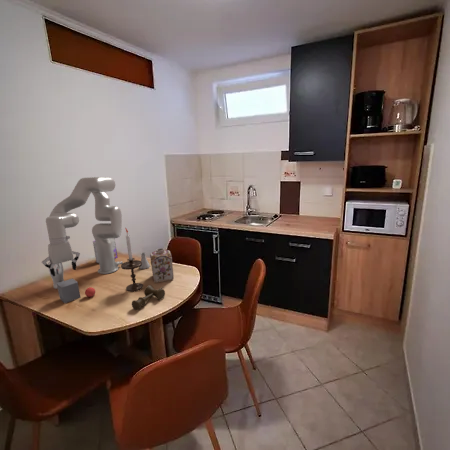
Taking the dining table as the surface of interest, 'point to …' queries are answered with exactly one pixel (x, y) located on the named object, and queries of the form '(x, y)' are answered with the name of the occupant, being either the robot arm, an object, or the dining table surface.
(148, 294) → the kendama
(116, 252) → the white carton
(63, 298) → the matte gray cube
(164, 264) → the decorative jar
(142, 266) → the flask
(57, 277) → the beer glass
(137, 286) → the candlestick
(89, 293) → the ball
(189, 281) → the dining table surface
